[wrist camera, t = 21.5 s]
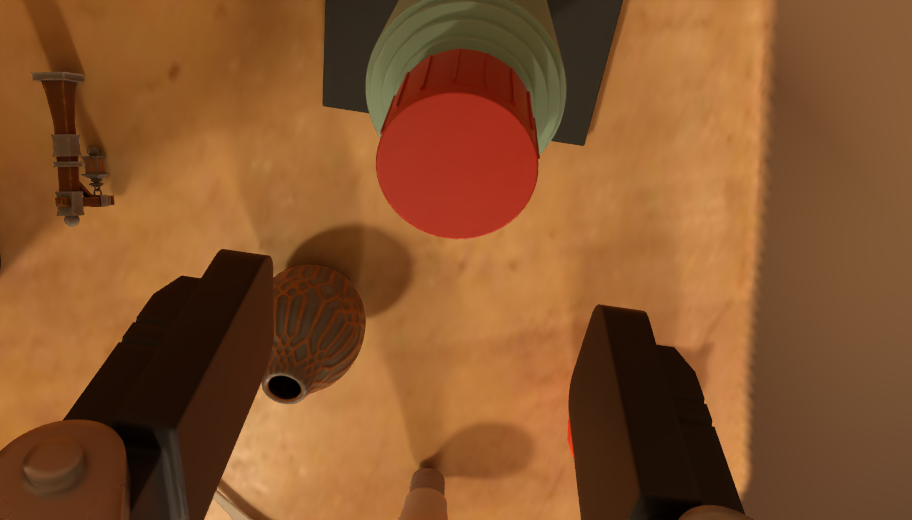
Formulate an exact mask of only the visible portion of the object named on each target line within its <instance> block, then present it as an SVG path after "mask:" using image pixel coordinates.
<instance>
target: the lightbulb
mask: <svg viewBox="0 0 912 520" xmlns="http://www.w3.org/2000/svg"><path fill="white" fill-rule="evenodd" d="M444 486H445V482H444V477H443V475H442V474H441V473H440V472H439V471H438V470H435V469H432V468H422V469H419V470H418V471H416V472H415V473H414V474H413V477H412V481H411V486H410V492H409V494H408V495H407V496H406V498H405V503H404V507H403V510H402V513H401V515H400V517H399V519H398V520H448V517H447V502H446V499H445V497H444V490H445V487H444Z"/></svg>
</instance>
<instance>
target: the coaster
mask: <svg viewBox="0 0 912 520" xmlns="http://www.w3.org/2000/svg"><path fill="white" fill-rule="evenodd" d="M398 1H399V0H326V6H325V39H324V73H323V106H326V107H332V108H339V109H345V110H352V111H358V112H365V113H369V110H368V106H367V99H366V74H367V67H368V64H369V60H370V57H371V54H372V51H373V49H374V47H375V45H376V42H377V40H378V39H379V37H380V35H381V33H382V31H383V29H384V27H385V25H386V23H387V22H388V20H389V18H390V16H391V14H392V12H393V10H394V8H395V7H396V5H397V3H398ZM622 2H623V0H547V3H548V7H549V11H550V15H551V19H552V23H553V26H554V30H555V34H556V38H557V42H558V46H559V50H560V54H561V57H562V61H563V66H564V70H565V75H566V85H567V88H566V102H565V108H564V113H563V116H562V119H561V122H560V125H559V127H558V129H557V131H556V133H555V135H554V137H553V138H552V140H551V141H555V142H561V143H568V144H575V145H581V146H584V144H585V141H586V137H587V133H588V129H589V126H590V122H591V118H592V114H593V111H594V107H595V103H596V100H597V96H598V92H599V88H600V85H601V81H602V77H603V73H604V70H605V66H606V62H607V58H608V55H609V51H610V47H611V43H612V40H613V36H614V32H615V29H616V25H617V21H618V17H619V14H620V10H621V6H622Z"/></svg>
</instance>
